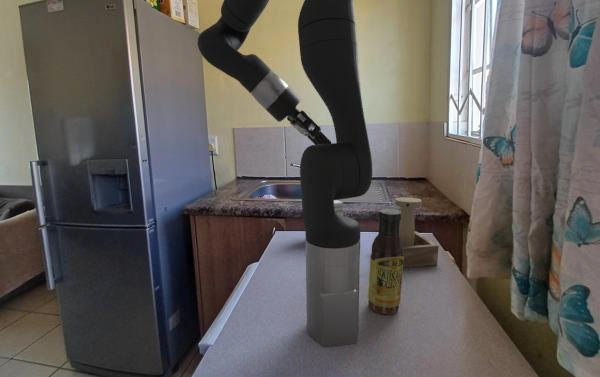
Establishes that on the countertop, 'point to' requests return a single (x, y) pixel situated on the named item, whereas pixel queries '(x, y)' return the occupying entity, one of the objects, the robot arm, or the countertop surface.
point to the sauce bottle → (386, 265)
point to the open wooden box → (420, 252)
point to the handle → (407, 219)
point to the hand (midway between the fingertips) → (324, 144)
